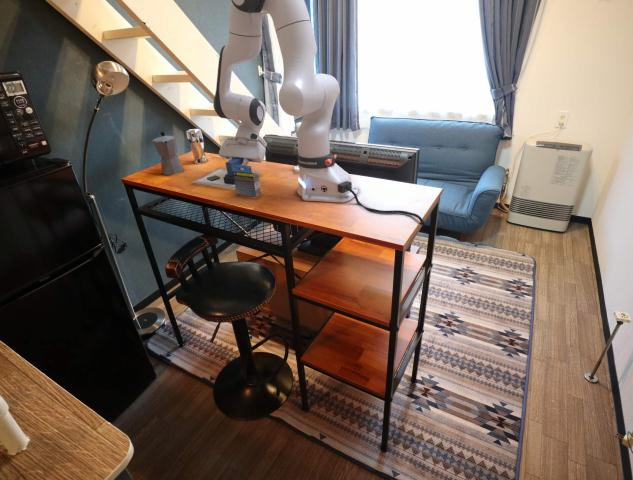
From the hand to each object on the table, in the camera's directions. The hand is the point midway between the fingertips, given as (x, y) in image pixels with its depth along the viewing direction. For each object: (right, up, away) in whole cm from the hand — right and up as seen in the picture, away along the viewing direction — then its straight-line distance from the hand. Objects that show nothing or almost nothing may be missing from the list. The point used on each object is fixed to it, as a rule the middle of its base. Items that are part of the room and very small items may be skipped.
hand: (235, 169), depth 138 cm
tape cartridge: (+7, -12, -10) cm, 18 cm away
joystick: (+28, +1, +10) cm, 30 cm away
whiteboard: (-5, -3, +6) cm, 8 cm away
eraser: (0, -3, +3) cm, 4 cm away
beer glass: (-24, +10, +29) cm, 39 cm away
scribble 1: (-10, -3, +5) cm, 12 cm away
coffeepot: (-33, +3, +19) cm, 38 cm away
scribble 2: (-4, -1, +7) cm, 8 cm away
